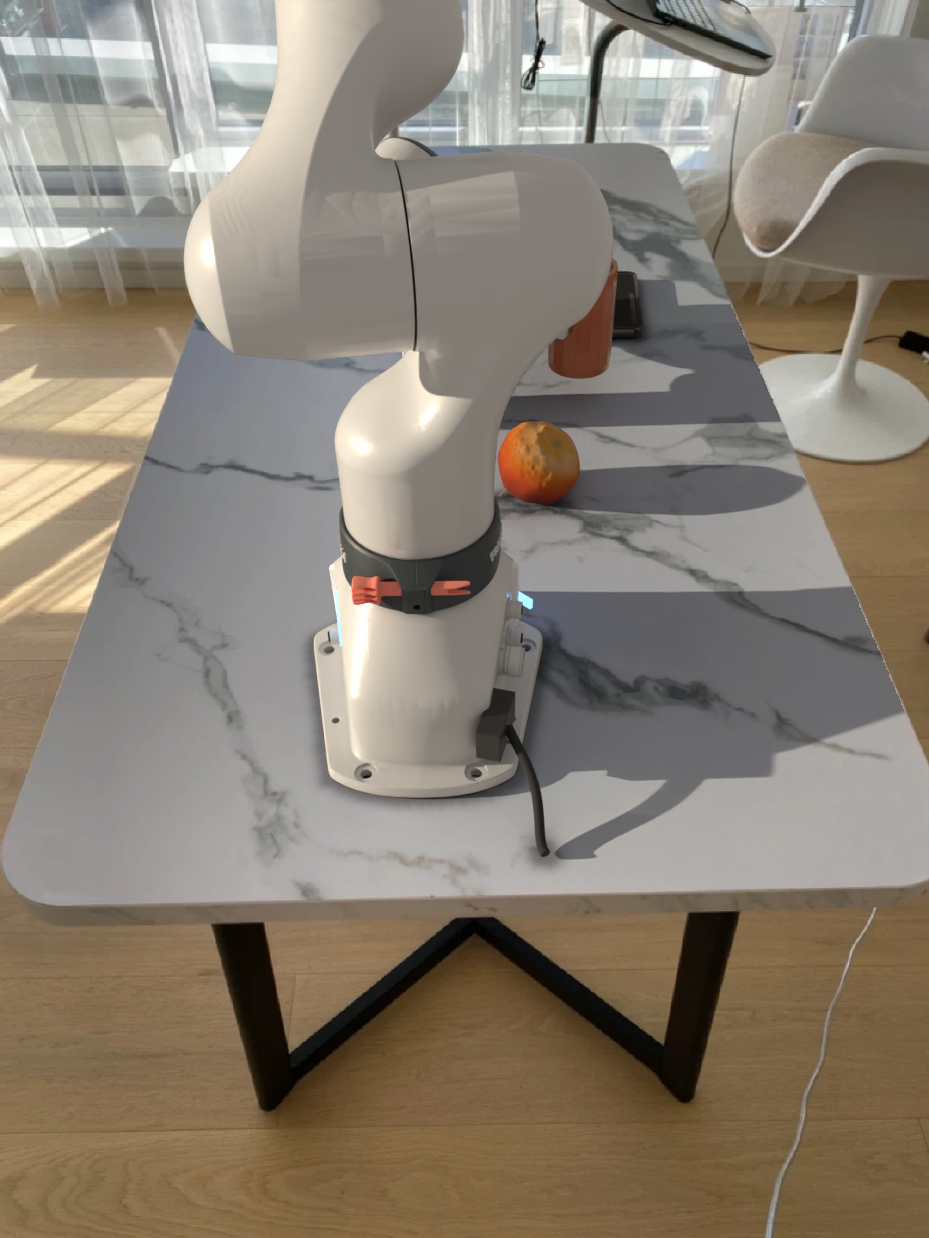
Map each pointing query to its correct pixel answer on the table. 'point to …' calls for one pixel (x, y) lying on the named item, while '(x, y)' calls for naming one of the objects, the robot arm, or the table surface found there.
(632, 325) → the phone
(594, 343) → the cup
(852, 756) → the table surface
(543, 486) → the fruit
